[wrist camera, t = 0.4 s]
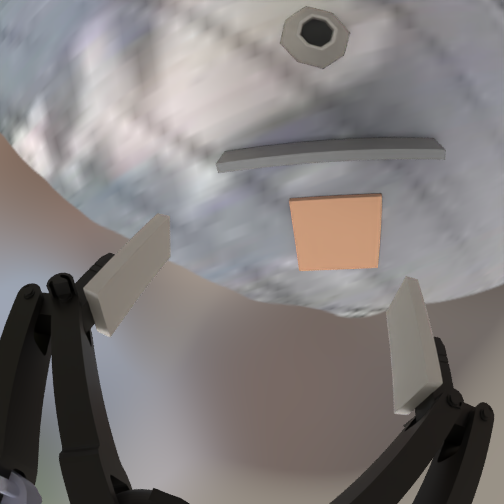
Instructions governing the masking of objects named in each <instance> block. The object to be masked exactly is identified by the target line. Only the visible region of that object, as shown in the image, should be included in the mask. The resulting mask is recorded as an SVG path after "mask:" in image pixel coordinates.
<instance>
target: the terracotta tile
mask: <svg viewBox="0 0 504 504" xmlns="http://www.w3.org/2000/svg"><path fill="white" fill-rule="evenodd" d="M289 204H290V210H291V217H292V223H293V230H294V237H295V243H296V250H297V258H298V265H299V271H310V270H336V269H359V268H378V258H379V246H380V231H381V211H382V195H381V194H357V195H337V196H319V197H304V198H290V199H289Z"/></svg>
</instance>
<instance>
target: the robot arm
mask: <svg viewBox="0 0 504 504" xmlns="http://www.w3.org/2000/svg"><path fill="white" fill-rule="evenodd" d="M169 258H170V216H167V215H163V214H156V215H155V216H154V217H153V218H152V219H151V220H150V221H149V222H148V223H147V224H146V225H145V226H144V227H143V228H142V229H141V230H140V231H138V232H137V233H136V234H135V235H134V236H133V237H132V238H131V239H130V240H129V241H128V242H127V243H126V244H125V245H124V246H123V247H122V248H121V249H120V250H119V251H118V252H117V253H116V254H112V253H108V254H106V255H104V256H102V257H101V258H100V259H99V260H98V261H97V262H96V263H95V264H94V265H93V266H92V267H91V268H90V269H89V270H88V271H87V272H86V273H85V274H84V275H83V276H82V277H81V278H80V279H79V280H78V281H77V282H76V283H74V280H73V277H72V276H71V275H70V274H67V273H59V274H56V275H54V276H53V277H51V278H50V279H49V280H48V282H47V285H46V286H47V289H48V291H49V293H42V292H41V289H40V287H39V286H38V285H37V284H27V285H25V286H24V287H22V288H21V289H20V291H19V292H18V294H17V297H16V299H15V301H14V304H13V306H12V309H11V311H10V314H9V316H8V319H7V321H6V324H5V327H4V330H3V333H2V336H1V338H0V504H41V503H42V498H41V496H40V494H39V492H38V490H37V488H36V487H35V482H36V476H37V469H38V452H39V435H40V424H41V415H42V406H43V398H44V392H45V386H46V380H47V374H48V368H49V363H50V358H51V355H52V374H53V386H54V396H55V405H56V413H57V419H58V426H59V432H60V438H61V443H62V451H61V453H60V454H59V461H60V466H61V471H62V475H63V479H64V483H65V486H66V490H67V494H68V497H69V501H70V504H189V503H188V502H186V501H184V500H183V499H181V498H179V497H176V496H173V495H170V494H168V493H165V492H163V491H160V490H158V489H155V488H153V490H145V489H135V490H132V487H131V484H130V482H129V479H128V477H127V475H126V472H125V471H124V469H123V467H122V465H121V462H120V460H119V457H118V454H117V450H116V447H115V444H114V440H113V436H112V433H111V429H110V426H109V422H108V418H107V414H106V409H105V405H104V401H103V396H102V391H101V387H100V381H99V376H98V370H97V364H96V358H95V352H94V345H93V337H92V332H91V327H92V326H93V325H94V324H95V325H96V329H97V331H98V332H100V333H102V334H104V335H106V336H109V337H111V336H112V334H113V333H114V332H115V330H116V329H117V327H118V326H119V324H120V323H121V322H122V320H123V319H124V318H125V316H126V315H127V313H128V312H129V311H130V309H131V308H132V307H133V305H134V303H136V301H137V300H138V298H139V297H140V296H141V294H142V293H143V292H144V290H145V289H146V288H147V286H148V285H149V284H150V282H151V281H152V280H153V279H154V277H155V276H156V275H157V273H158V272H159V271H160V269H161V268H162V267H163V265H164V264H165V263H166V262H167V260H168V259H169ZM386 317H387V325H388V333H389V342H390V353H391V364H392V378H393V394H394V395H393V396H394V414H404V415H408V414H409V413H411V412H412V411H413V410H414V409H415V413H416V416H415V417H414V418H412V419H411V420H410V421H408V422H407V423H406V424H405V425H404V427H405V428H404V429H403V430H402V432H401V433H400V434H399V435H398V436H397V438H396V439H395V440H394V441H393V442H392V443H391V444H390V446H389V447H388V448H387V449H386V450H385V451H384V452H383V453H382V454H381V456H380V457H379V458H378V459H377V460H376V461H375V462H374V463H373V464H372V465H371V466H370V467H369V468H368V469H367V470H366V471H365V472H364V473H363V474H362V475H361V476H360V477H359V478H358V479H357V480H356V481H355V482H354V483H352V484H351V485H350V487H348V488H347V489H346V490H345V491H344V492H343V493H341V494H340V495H339V496H338V497H337V498H336V499H334V500H333V501H332V502H331V503H330V504H397V503H398V502H399V501H400V500H401V499H402V497H403V496H404V495H405V494H406V493H407V492H408V490H409V489H410V488H411V487H412V485H413V484H414V483H415V482H416V480H417V479H418V478H419V476H420V475H421V474H422V472H423V471H424V470H425V468H426V467H427V466H428V464H429V463H430V461H431V460H432V458H433V460H432V462H431V465H430V467H429V469H428V472H427V474H426V476H425V479H424V481H423V483H422V485H421V487H420V489H419V491H418V493H417V495H416V497H415V499H414V501H413V503H412V504H472V501H473V498H474V496H475V493H476V489H477V487H478V483H479V480H480V477H481V474H482V470H483V467H484V463H485V459H486V455H487V451H488V447H489V443H490V438H491V433H492V428H493V422H494V413H493V410H492V408H491V407H490V406H489V405H488V404H487V403H484V402H482V403H480V404H478V405H477V406H476V407H473V406H471V405H469V404H466V403H464V400H463V397H462V395H461V394H460V393H459V391H457V390H456V389H454V388H453V383H452V377H451V372H450V368H449V364H448V359H447V357H446V356H447V354H446V350H445V346H444V345H443V343H442V341H441V339H440V338H438V337H433V333H432V329H431V325H430V321H429V317H428V314H427V310H426V306H425V302H424V299H423V295H422V292H421V289H420V285H419V282H418V279H414V278H410V277H407V276H406V277H405V279H404V281H403V283H402V285H401V287H400V288H399V290H398V292H397V294H396V296H395V297H394V299H393V301H392V303H391V304H390V306H389V308H388V310H387V311H386Z"/></svg>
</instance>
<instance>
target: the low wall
mask: <svg viewBox="0 0 504 504" xmlns="http://www.w3.org/2000/svg"><path fill="white" fill-rule="evenodd" d="M445 153H446V150H445V149H444V148H443V147H442V146H441V145H440V144H439V143H438V142H437V141H436V140H435V139H434V138H355V139H335V140H320V141H308V142H296V143H286V144H277V145H268V146H260V147H252V148H245V149H238V150H231V151H225V152H224V153H223V155H222V156H221V157H220V159H219V160H218V161H217V163H216V166H217V170H218V173H223V172H231V171H238V170H246V169H255V168H264V167H273V166H283V165H294V164H306V163H320V162H335V161H355V160H386V159H437V160H445Z"/></svg>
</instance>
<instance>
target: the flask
mask: <svg viewBox="0 0 504 504" xmlns="http://www.w3.org/2000/svg"><path fill="white" fill-rule="evenodd" d="M349 35H350V32H349V31H348V30H347V29H346V28H345V26H344V25H343V24H342V23H341V22H340V21H339V20H338V19H337V17H336V16H335V15H334V14H333V13H330V12H327V11H323V10H319V9H316V8H312V7H307V6H305V7H304V8H302V9H301V10H299V11H298V12H296V13H295V14H294V15H292V16H291V17H289V18H288V19H287V20H285V24H284V28H283V32H282V37H281V41H280V44H281V45H282V46H283V47H284V48H285V49H286V50H287V51H288V52H289V53H290V54H291V55H292V56H293V57H294V59H295V60H296V61H297V62H300V63H304V64H308V65H311V66H315V67H319V68H322V69H324V68H325V67H327V66H328V65H330V64H331V63H333V62H334V61H336V60H337V59H339V58H340V57H342V56H343V55H344V53H345V49H346V46H347V42H348V38H349Z"/></svg>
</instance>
